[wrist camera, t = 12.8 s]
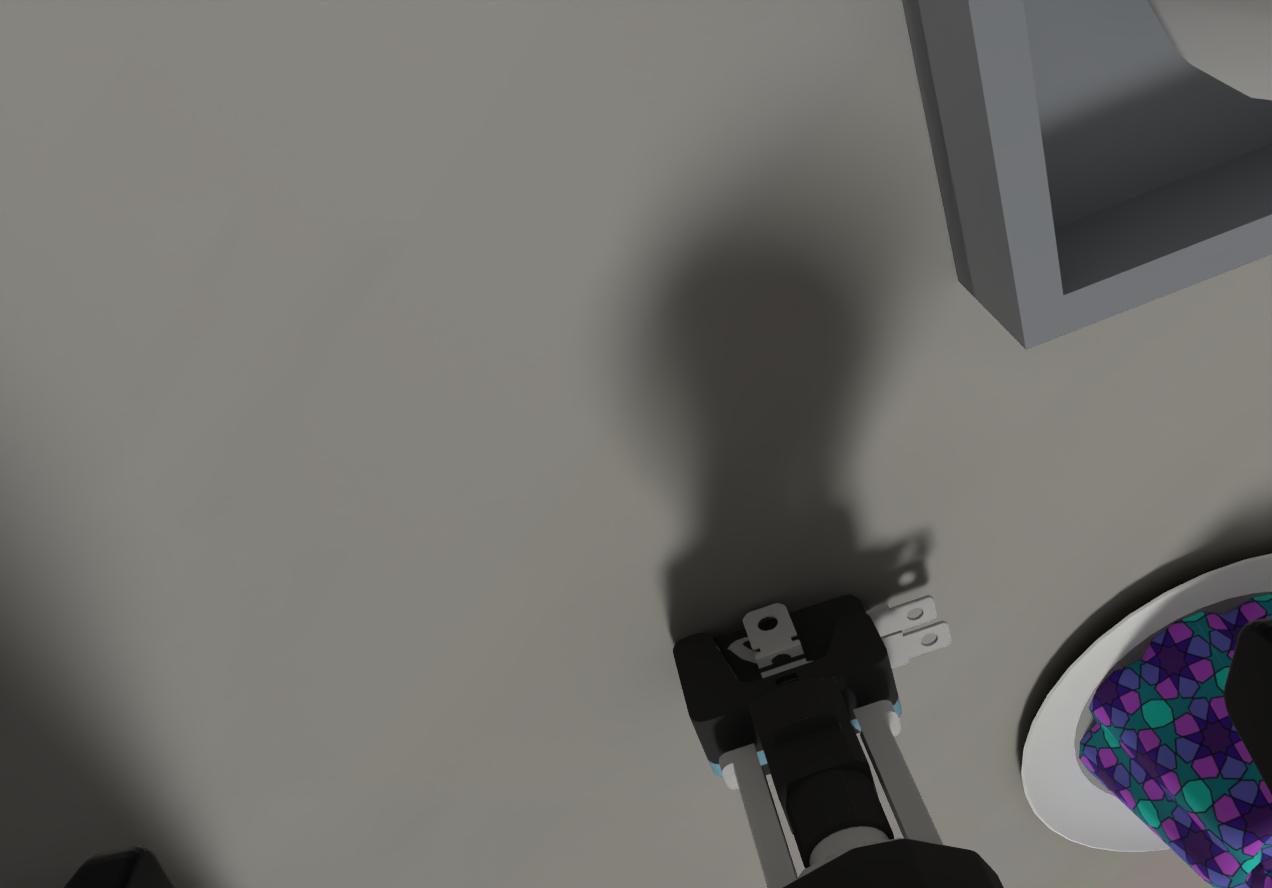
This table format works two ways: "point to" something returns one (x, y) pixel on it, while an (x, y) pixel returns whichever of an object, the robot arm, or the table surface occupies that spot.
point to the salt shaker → (1223, 39)
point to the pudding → (1160, 738)
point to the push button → (823, 743)
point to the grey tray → (1084, 158)
